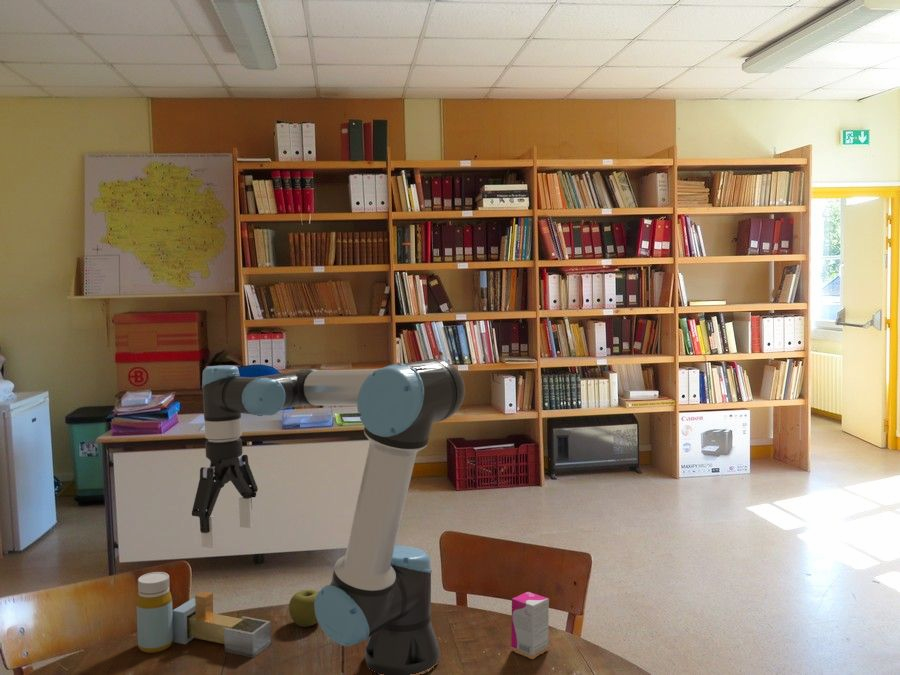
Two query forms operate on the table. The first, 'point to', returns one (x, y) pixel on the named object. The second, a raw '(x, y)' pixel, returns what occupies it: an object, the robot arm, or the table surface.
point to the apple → (303, 608)
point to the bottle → (154, 613)
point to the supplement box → (530, 623)
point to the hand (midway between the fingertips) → (228, 536)
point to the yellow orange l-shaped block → (209, 620)
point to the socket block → (182, 621)
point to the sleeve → (248, 637)
